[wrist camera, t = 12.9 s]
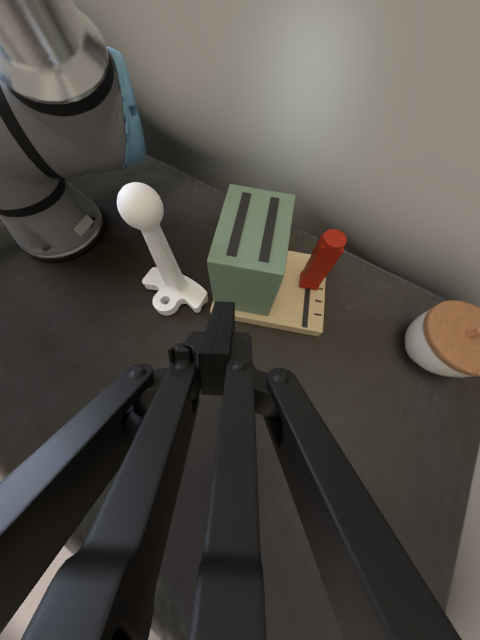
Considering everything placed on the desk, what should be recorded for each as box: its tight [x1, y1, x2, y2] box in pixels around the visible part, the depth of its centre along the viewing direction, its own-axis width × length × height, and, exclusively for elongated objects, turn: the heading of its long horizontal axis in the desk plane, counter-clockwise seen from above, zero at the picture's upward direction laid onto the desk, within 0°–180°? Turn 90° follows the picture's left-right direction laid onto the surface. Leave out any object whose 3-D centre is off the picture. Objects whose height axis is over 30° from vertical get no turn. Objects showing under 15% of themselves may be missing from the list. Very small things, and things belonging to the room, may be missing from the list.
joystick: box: [117, 182, 208, 315], centre depth 30 cm, size 11×8×20 cm
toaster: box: [207, 184, 326, 337], centre depth 34 cm, size 16×18×14 cm
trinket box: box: [405, 300, 480, 377], centre depth 33 cm, size 11×11×9 cm
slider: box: [299, 229, 347, 290], centre depth 34 cm, size 3×3×11 cm
